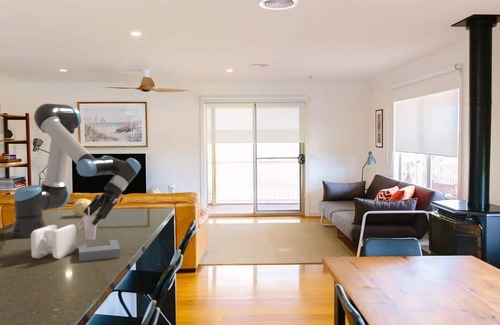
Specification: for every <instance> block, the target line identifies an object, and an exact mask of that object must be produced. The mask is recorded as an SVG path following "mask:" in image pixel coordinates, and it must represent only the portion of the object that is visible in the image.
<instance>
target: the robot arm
mask: <svg viewBox="0 0 500 325" xmlns="http://www.w3.org/2000/svg"><path fill="white" fill-rule="evenodd" d="M33 119H34V122H35V125H36V127H37V128H38V129H39V130H40V131H41V132H42V133H44V134H47V135H48V136H49V137H50V145H49V151H48V152H49V153H48V158H47V159H48V160H47V167H46V175H45V179H44V180H42V181H41V185H39V184H32V185H26V186H21V187H19V188H16V189H15V190H14V197H13V199H14V212H15V213H14V216H15V217H14V218H15V219H14V222H13V226H12V229H11V237H13V238H19V239H21V238H24V239H25V238H31V234H32V232H33V231H34V230H37V229H40V228H43V227H46V226H47V225H46V224H45V221H44V219H43V218H44V217H43V212H44V211H47V210H53V209H55V210H56V209H58V208H62V207H64V206H66V205H67V204H68V203H69V201H70V199H71V198H70V197H71V192H70V189H69V187H68V186H67V182H65V176H66V168H67V163H68V162H67V161H68V158H70V159H71V160H72V161H73V162H74V163H75V164H76V167H75V168H76V170H77V174H79V176H82V177H94V176H104V175H113V177H112V178H111V179H110V180H109V182H107V183H106V185H105V187H104V188H103V191H104V192H103V193H102V194H100V195H99V194H96V195H95V197H94V199H93V200H92V201H91V203H90V204H89V205H88V207H90V216H91V215H93V214H94V213H96V211H97V210H98V211H97V213H96V214H94V217H93V218H92V220H91V221H90V222H89V223H88V225H87V226H86V227H85V229H86V230H87V231H88V232H91V230H92V229H93V228H94V226H95V225H96V224H97V225H98V223H99V222H100V220H105V219H106V218H107V216H108V215H109V213H110V212H111V211H112V209H113V208H114V206H115V205H116V204H117V203H118V200H117V199H119V197H120V196H121V195H122V194H123V192H124V191H125V190H126V189H127V187H128V186H129V184H130V183H131V182H132V181H133V179H134V178H135V177H136V176H137V175H138V174H139V171H140V170H141V168H142V167H141V164H140V162H139V161H138V160H136V159H135V158H132V157H129V158H127V159H126V160H121V159H118V158H115V157H113V156H109V155H103V156H101V157H100V158H95V157H94V155H92V154H91V153H90V152H89V150H88V149H87V148H85V146H83V145H82V144H81V143H80V142H79V140H78V139H76V137H74V134H75V129H77V128H79V127H80V125H81V124H82V115H81V113H80V112H79V109H78V108H77V107H75V106H74V105H70V104H60V103H57V104H56V103H44V104H41V105H40V106H38V107H37V108H36V110H35V112H34V115H33ZM88 207H87V208H86V209H85V210H84V211H83V212H84V213H85V215H84V216H88ZM84 216H83V217H84ZM96 216H97V217H96ZM75 227H76V229H78V230H79V231H81V230H82V229H83V228H84V222H83V220H82V218H80V220H79V221H78V222H77V223H76V224H75ZM85 229H84V230H85Z"/></svg>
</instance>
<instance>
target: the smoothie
mask: <svg viewBox="0 0 500 325" xmlns="http://www.w3.org/2000/svg"><path fill="white" fill-rule="evenodd" d="M94 216H96V215H95V214H94V215H93V214H92V215H91V216H90V207H88V216H84V217H81V219H82V220H83V222H84V226H83V228H84V229H83V230H84V235H85V240H87V241H93V240H96V235H97V234H96V233H97V226H98V223H97V224H96V225H95V226H94V228H93V229H92V230H91V232H88V231H87V230H86V229H85V227H86V226H87V225H88V223H89V222H90V221H91V220H92V218H93V217H94ZM96 217H97V216H96Z"/></svg>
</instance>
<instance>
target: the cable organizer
mask: <svg viewBox="0 0 500 325" xmlns="http://www.w3.org/2000/svg"><path fill="white" fill-rule="evenodd" d="M45 226H46V227H43V228H40V229H37V230H34V231H33V232H32V234H31V237H30V246H31V248H30V249H31V257H32V258H33V259H42V258H43V257H45V256H47V255H51V256H53V258H54V259H57V260H61V259H63V258H64V257H65V256H67V255H71V254H72V253H74V251H75V250H76V249H77V227H76V224H67V225H66V226H63V227H60V228H58V226H57V224H49V225H45Z"/></svg>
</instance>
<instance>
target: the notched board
mask: <svg viewBox="0 0 500 325" xmlns="http://www.w3.org/2000/svg"><path fill="white" fill-rule="evenodd" d="M108 241H109V244H107V245H99V246H97V245H95V246H88V243H87V241H84V242H79V243H78V262H87V261H88V262H89V260H90V261H98V260H106V259H107V260H108V259H117V258H121V248H120V244H119V241H118V239H109V240H108Z"/></svg>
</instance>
